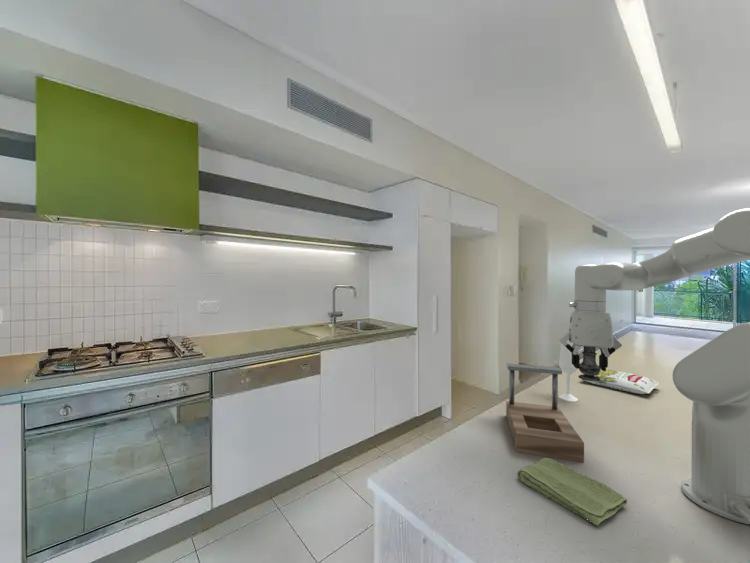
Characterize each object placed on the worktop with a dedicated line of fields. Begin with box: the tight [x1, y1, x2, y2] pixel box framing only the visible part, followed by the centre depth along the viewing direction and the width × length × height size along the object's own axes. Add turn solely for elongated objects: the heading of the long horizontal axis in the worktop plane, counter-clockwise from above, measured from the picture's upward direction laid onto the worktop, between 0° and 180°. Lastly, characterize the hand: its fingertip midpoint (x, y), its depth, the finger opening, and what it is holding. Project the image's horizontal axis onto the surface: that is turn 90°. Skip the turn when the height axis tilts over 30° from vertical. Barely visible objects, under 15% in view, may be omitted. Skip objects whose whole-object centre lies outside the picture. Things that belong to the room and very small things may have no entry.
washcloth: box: [516, 457, 628, 527], centre depth 68 cm, size 13×18×3 cm
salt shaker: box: [577, 346, 602, 381], centre depth 89 cm, size 6×6×12 cm
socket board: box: [505, 400, 585, 463], centre depth 93 cm, size 24×16×5 cm, turn 163°
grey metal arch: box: [506, 362, 563, 410], centre depth 102 cm, size 4×16×13 cm, turn 73°
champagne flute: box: [558, 340, 579, 402], centre depth 124 cm, size 7×7×24 cm
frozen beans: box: [581, 368, 661, 395], centre depth 139 cm, size 21×6×25 cm
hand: (589, 368), depth 89 cm, fingers closed on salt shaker, 5 cm apart
